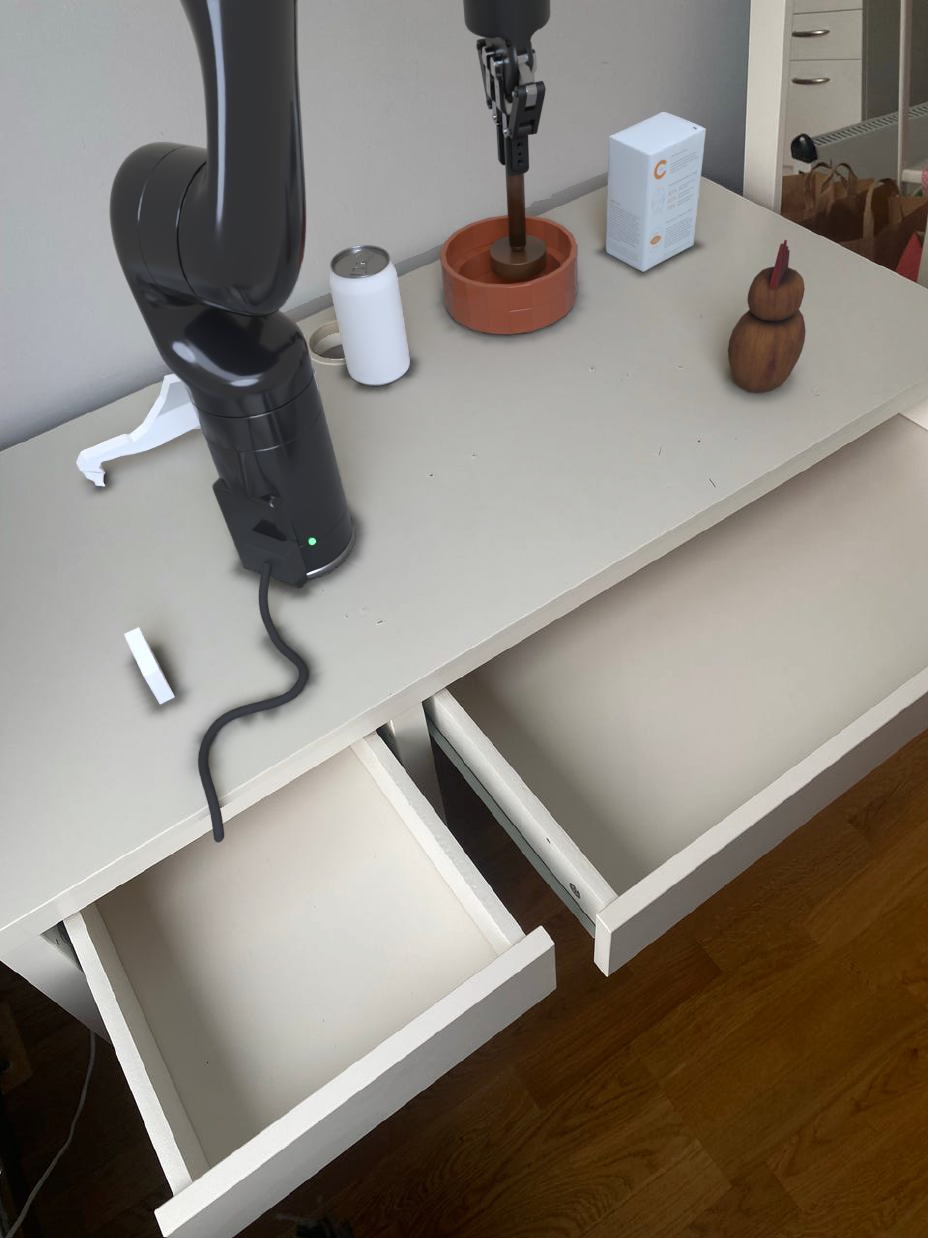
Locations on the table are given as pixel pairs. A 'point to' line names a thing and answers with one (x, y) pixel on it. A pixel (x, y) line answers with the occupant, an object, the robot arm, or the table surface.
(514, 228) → the brown post on disc
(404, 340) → the can
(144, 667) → the eraser
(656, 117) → the small box
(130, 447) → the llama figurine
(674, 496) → the table surface
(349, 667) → the table surface
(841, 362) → the table surface
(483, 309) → the bowl
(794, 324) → the wooden figurine
